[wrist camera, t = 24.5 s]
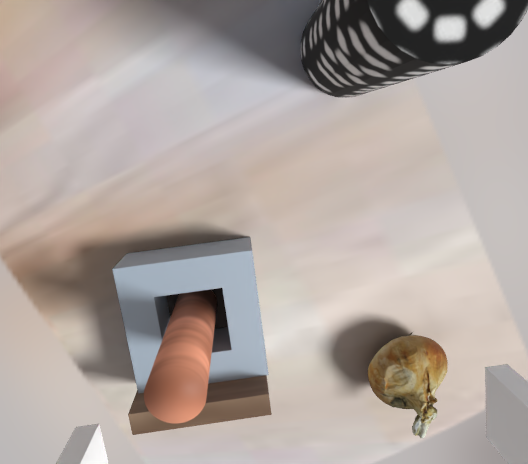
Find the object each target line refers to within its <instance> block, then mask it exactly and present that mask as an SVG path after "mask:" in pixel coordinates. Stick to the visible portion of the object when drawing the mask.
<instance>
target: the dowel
mask: <svg viewBox="0 0 528 464" xmlns="http://www.w3.org/2000/svg"><path fill="white" fill-rule="evenodd" d="M216 311H217V298H216V296H215V294H214V293H213V291H212V290H211V289H210V290H202V291H195V292H188V293H181V294H179V296H178V298H177V301H176V304H175V307H174V309H173V312H172V315H171V317H170V320H169V323H168V326H167V328H166V331H165V334H164V337H163V339H162V342H161V345H160V348H159V350H158V353H157V356H156V359H155V361H154V364H153V367H152V370H151V372H150V375H149V378H148V381H147V383H146V386H145V389H144V402H145V405H146V407H147V409H148V410H149V412H150V413H151V414H152V415H153V416H154V417H156V418H157V419H159V420H161V421H164V422H167V423H183V422H187V421H189V420H191V419H193V418H195V417H196V416H197V415H198V414H199V413H200V412H201V411H202V409H203V408H204V406H205V403H206V398H207V389H208V380H209V371H210V363H211V354H212V345H213V337H214V328H215V319H216Z"/></svg>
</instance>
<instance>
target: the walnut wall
mask: <svg viewBox="0 0 528 464" xmlns="http://www.w3.org/2000/svg"><path fill="white" fill-rule="evenodd" d="M265 415H271V408H270V400H269V392H268V384H267V376H266V375H264V376H257V377H251V378H244V379H237V380H230V381H223V382H216V383H209V384H208V389H207V398H206V403H205V406H204V408H203V409H202V411H201V412H200V413H199V414H198V415H197V416H196V417H195V418H193V419H191V420H189V421H187V422H183V423H167V422H164V421H161V420H159V419H157V418H156V417H154V416H153V415H152V414H151V413H150V412H149V410H148V409H147V407H146V405H145V402H144V393H139V394H138V390H137V393H136V396H135V398H134V401H133V403H132V406H131V409H130V411H129V414H128V416H129V420H130V425H131V430H132V434H133V435H136V434H143V433H149V432H156V431H163V430H170V429H177V428H183V427H190V426H197V425H204V424H211V423H217V422H224V421H231V420H238V419H245V418H251V417H258V416H265Z"/></svg>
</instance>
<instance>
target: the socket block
mask: <svg viewBox="0 0 528 464" xmlns="http://www.w3.org/2000/svg"><path fill="white" fill-rule="evenodd" d="M112 270H113V275H114V279H115V284H116V289H117V294H118V298H119V303H120V308H121V313H122V318H123V322H124V327H125V332H126V337H127V341H128V346H129V351H130V356H131V360H132V365H133V370H134V375H135V379H136V384H137V389H138V394H139V393H144V389H145V386H146V383H147V381H148V378H149V375H150V372H151V370H152V367H153V364H154V361H155V359H156V356H157V353H158V350H159V348H160V345H161V342H162V339H163V337H164V334H165V331H166V328H167V326H168V323H169V320H170V314H169V308H168V303H167V297H166V295H173V294H181V293H188V292H195V291H202V290H210V289H217V288H222V289H223V296H224V302H225V309H226V315H227V322H228V327H224V328H217V329H214V337H213V345H212V354H211V363H210V371H209V380H208V384H209V383H216V382H223V381H230V380H237V379H244V378H251V377H257V376H264V375H268V367H267V359H266V352H265V344H264V337H263V329H262V322H261V314H260V307H259V299H258V292H257V284H256V277H255V269H254V262H253V254H252V247H251V240H250V237H247V238H239V239H232V240H224V241H217V242H209V243H202V244H194V245H187V246H179V247H172V248H164V249H157V250H149V251H142V252H134V253H127V254H126V255H125V256H124V257H123V258H122V259H121V260H120V261H119V262H118V263H117V265H116V266H115V267H114V268H113V269H112Z"/></svg>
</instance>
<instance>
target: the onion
mask: <svg viewBox="0 0 528 464" xmlns="http://www.w3.org/2000/svg"><path fill="white" fill-rule="evenodd" d="M412 333H413V332H412ZM412 333H411V334H412ZM411 334H410V335H411ZM410 335H408V336H403V337H401V336H400V337H399V338H396V339H393V340H391V341H390V342H388V343H387V344H385V345H384V346H383V347H382V348H381V349H380V350H379V351H378V352H377V353H376V355H375V356H374V358H373V359H372V361H371V363H370V365H369V367H368V378H369V382H370V386H371V388H372V390H373V392H374V393H375V394H376V396H377V397H378V398H379V399H380V400H382V401H383V402H384V403H386V404H388V405H390V406H392V407H397V408H402V409H414V410H415V411H416V412H417V414H418V415H417V417H416V418H415V421H414V423H413V426H412V430H413V434H414V435H415V436H416V435H419V436H420V438H422V439H423V438H424V437H425V435H426V432H427V429H428V427H429V425H430V423H431V421H432V420H434V419H435V418H436V416H437V409H436V408H434V407H433V404H434V403H436V402H437V399H436V398H435V391H436V389H437V388H438V386H439V385H440V384H441V382H442V381H443V379H444V377H445V375H446V373H447V358H446V354H445V352H444V350H443V349H442V348H441V346H440V345H439V344H438V343H436V342H435V341H433V340H431V339H430V338H426V337H423V336H416V335H415V336H410Z"/></svg>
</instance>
